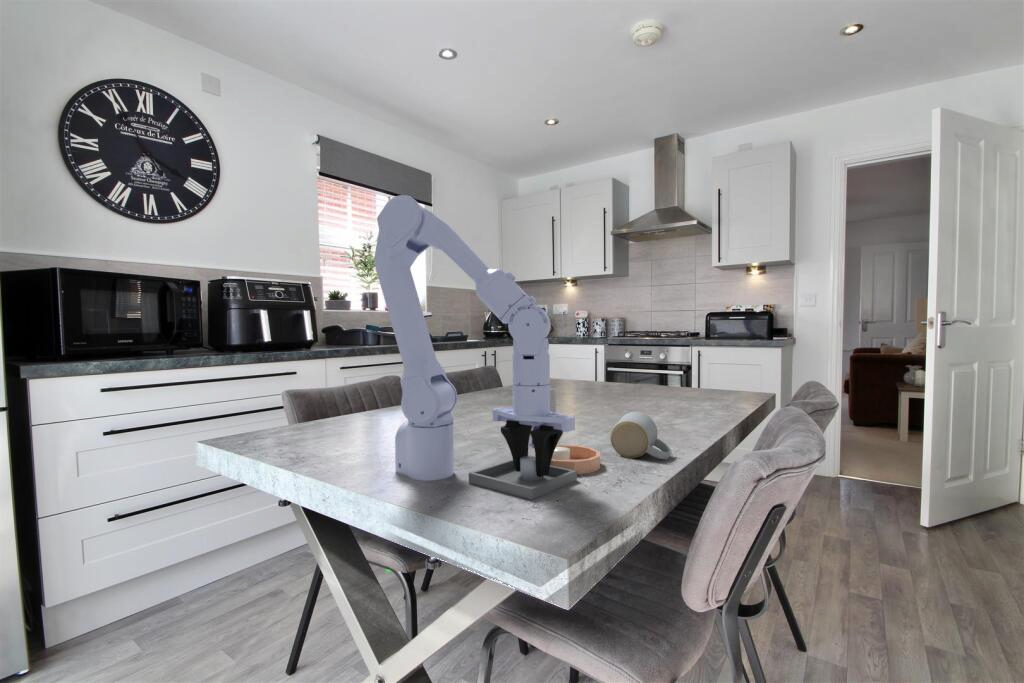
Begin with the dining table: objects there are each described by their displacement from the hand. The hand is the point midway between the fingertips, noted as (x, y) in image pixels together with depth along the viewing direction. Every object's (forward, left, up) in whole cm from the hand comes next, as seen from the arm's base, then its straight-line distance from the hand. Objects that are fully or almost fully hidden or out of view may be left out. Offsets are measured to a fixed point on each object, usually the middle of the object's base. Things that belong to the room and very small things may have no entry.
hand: (531, 472), depth 73 cm
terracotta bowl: (0, +10, -2) cm, 10 cm away
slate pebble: (0, 0, -1) cm, 1 cm away
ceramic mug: (+5, +26, -2) cm, 27 cm away
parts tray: (0, -2, -2) cm, 3 cm away
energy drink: (-12, +19, -2) cm, 22 cm away
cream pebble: (0, +7, -1) cm, 7 cm away
